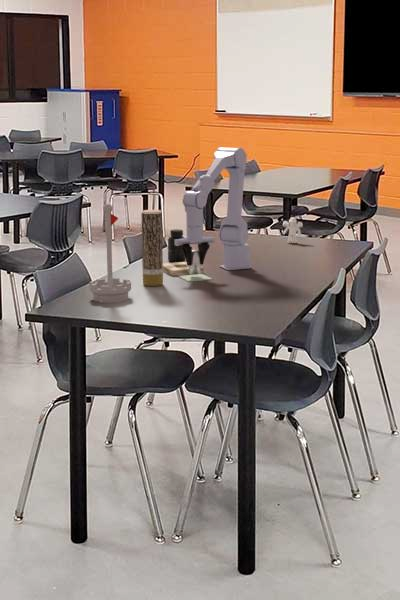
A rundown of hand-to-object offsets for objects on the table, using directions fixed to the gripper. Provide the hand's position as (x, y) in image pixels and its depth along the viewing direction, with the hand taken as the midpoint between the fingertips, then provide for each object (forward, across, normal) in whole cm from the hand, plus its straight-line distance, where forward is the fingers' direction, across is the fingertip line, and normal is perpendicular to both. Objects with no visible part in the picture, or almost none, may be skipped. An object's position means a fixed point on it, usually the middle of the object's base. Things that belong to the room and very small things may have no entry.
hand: (195, 264), depth 311 cm
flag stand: (+5, +36, +17) cm, 41 cm away
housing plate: (+5, 0, -14) cm, 15 cm away
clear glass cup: (+3, 0, 0) cm, 3 cm away
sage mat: (+5, 0, 0) cm, 5 cm away
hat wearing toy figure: (+5, -67, -52) cm, 85 cm away
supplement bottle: (+5, -7, -34) cm, 35 cm away
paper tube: (+5, +17, +4) cm, 18 cm away
